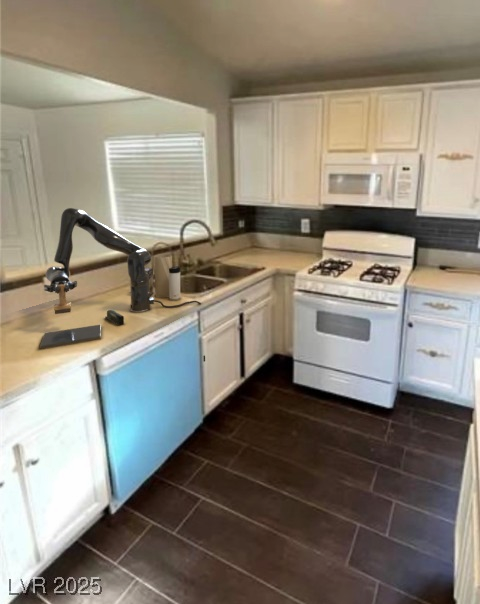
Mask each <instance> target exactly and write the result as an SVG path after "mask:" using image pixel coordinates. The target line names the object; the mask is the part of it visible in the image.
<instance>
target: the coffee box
mask: <svg viewBox="0 0 480 604" xmlns="http://www.w3.org/2000/svg"><path fill="white" fill-rule="evenodd" d="M153 269H154V268H153V267H145V272H146V273H148V274H149V293H150V296H151V295H152V294H153V293H154V271H153Z"/></svg>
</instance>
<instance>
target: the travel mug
mask: <svg viewBox="0 0 480 604" xmlns="http://www.w3.org/2000/svg"><path fill="white" fill-rule="evenodd" d="M169 296H170V297H168V298H169V300H170V301H179V300H181V266H172V267H171V268H169Z"/></svg>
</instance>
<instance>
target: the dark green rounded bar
mask: <svg viewBox="0 0 480 604" xmlns="http://www.w3.org/2000/svg"><path fill="white" fill-rule="evenodd" d="M104 318H105V319H107V320H109V322H112V323H114V324H115V325H117V326H123V325H125V316H124V315H122V314H120V313H119V312H117V311H116V310H114V309H108V310H107V311H106V316H104Z"/></svg>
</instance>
